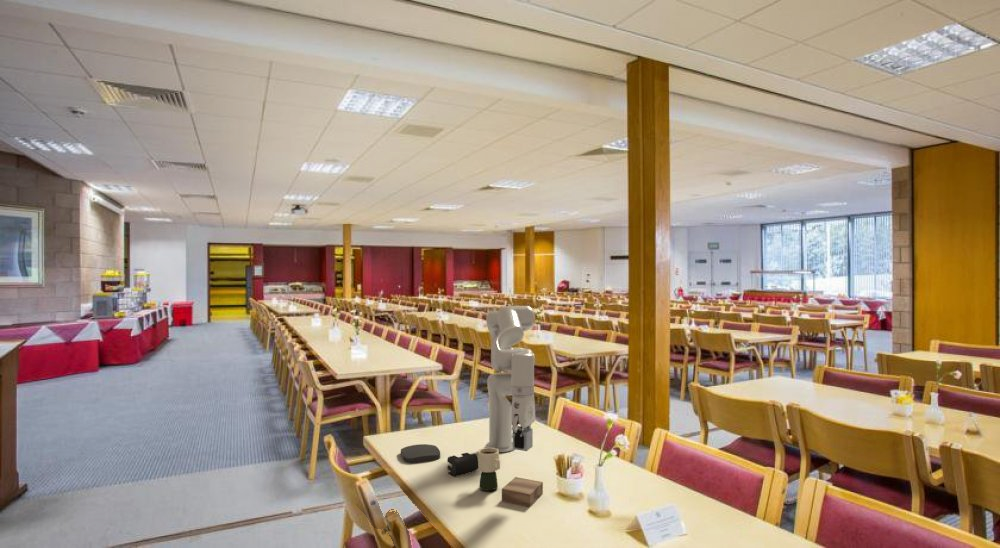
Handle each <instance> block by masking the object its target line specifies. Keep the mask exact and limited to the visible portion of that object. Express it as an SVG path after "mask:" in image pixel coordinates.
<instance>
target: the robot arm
mask: <svg viewBox="0 0 1000 548" xmlns="http://www.w3.org/2000/svg"><path fill="white" fill-rule="evenodd" d="M485 319H486V326H487V329H488V332H489V335H490V339H491V341H490V343H491V344H490V362H491V363H490V365H491V368H492V369H493V370H495V371H499V372H495V373H491V374H490V375H489V376H488V377H487V381H486V384H487V392H488V402H489V404H488V405H489V407H488V414H489V415H488V417H489V418H488V419H489V421H488V424H489V425H488V427H489V428H488V429H489V430H488V432H489V433H488V434H489V435H488V436H489V438H488V440H489V441H488V442H487V443H486V444H485V448H495V449H498V451H499V453H507V452H511V451H513V450H515V449H513V432H514V447H515V448H520V449H523V448H524V436H523V430H524V428H531V429H532V424H533V423H535V421H536V404H535V364H536V357H535V353H534V352H533V351H532V350H531V349H529V348H524V347H512V346H515V345H517V344H518V343H520V342H521V341H522V340H523V339H524V335H525V334H524V333H525V332H526V331H528V330H530V329H532V328H533V327H534V325H535V321H536V315H535V311H534V310H533V308H532V307H531V306H529V305H507V306H502V307H501V308H499V310H493V311H489V312H488V313H487V314H486V318H485ZM508 396H512V397H511V398H512V399H511V402H510V400H508V398H507V397H508ZM518 428H521V431H520V430H519V429H518Z"/></svg>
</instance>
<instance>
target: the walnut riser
mask: <svg viewBox="0 0 1000 548" xmlns="http://www.w3.org/2000/svg"><path fill="white" fill-rule="evenodd" d="M543 483H544V482H543V481H539V480H534V479H527V478H522V477H517V476H515V477H513V478H512V480H510V481H509V482H507V484H505V485H504V486H503V487H502V488H501V502H504V503H509V504H514V505H518V506H523V507H528V508H531V507H532V506H533V505H534V504H535V503H536V502H537V501H538V500H539V498H540V497H541V496H543V493H544V491H543V489H544V484H543Z"/></svg>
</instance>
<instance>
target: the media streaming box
mask: <svg viewBox="0 0 1000 548" xmlns="http://www.w3.org/2000/svg"><path fill="white" fill-rule="evenodd" d="M400 457H401V458H402V460H403V462H405V463H408V464H419V463H427V462H433V461H437V460H439V459H441V450H440V449H439V447H438V446H436V445H434V444H426V443H425V444H424V443H423V444H422V443H421V444H419V443H418V444H412V445H408V446H407V445H406V446H405V447H402V448H401V449H400Z"/></svg>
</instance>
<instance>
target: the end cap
mask: <svg viewBox="0 0 1000 548" xmlns="http://www.w3.org/2000/svg"><path fill="white" fill-rule="evenodd" d="M446 462H447V463H449V464H450V465H451V466H450V465H449V464H448V465H447V470H448V472H447V474H448V475H449V476H451V477H452V478H456V477H459V476H463V475H466V474H471V473H474V472H476V471H477V470H479V468H478V454H476V453H469V452H464V453H463V452H462V453H461V456H457V455H451V456H448V457H447V461H446Z"/></svg>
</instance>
